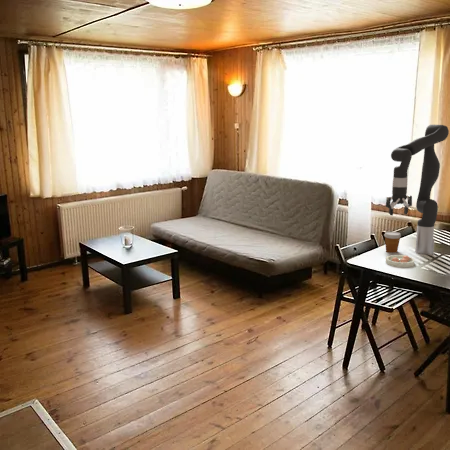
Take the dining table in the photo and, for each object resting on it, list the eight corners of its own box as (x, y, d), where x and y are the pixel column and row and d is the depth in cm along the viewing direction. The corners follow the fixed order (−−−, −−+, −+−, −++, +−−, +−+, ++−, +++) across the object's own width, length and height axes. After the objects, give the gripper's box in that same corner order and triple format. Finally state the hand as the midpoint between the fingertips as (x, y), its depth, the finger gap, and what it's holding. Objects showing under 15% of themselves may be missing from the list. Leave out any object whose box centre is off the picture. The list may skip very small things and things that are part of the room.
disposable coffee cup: (381, 253, 282) (383, 234, 279) (384, 249, 290) (385, 230, 287) (398, 255, 277) (399, 236, 275) (400, 251, 286) (402, 232, 283)
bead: (389, 261, 261) (392, 255, 259) (394, 261, 262) (397, 256, 260) (393, 265, 258) (396, 259, 256) (398, 265, 259) (401, 260, 258)
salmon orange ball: (407, 260, 264) (408, 254, 263) (410, 262, 261) (410, 256, 260) (401, 260, 264) (401, 254, 263) (403, 262, 261) (404, 256, 260)
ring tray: (408, 260, 268) (408, 254, 268) (418, 268, 254) (418, 262, 253) (382, 260, 269) (382, 255, 268) (390, 268, 254) (391, 263, 254)
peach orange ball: (408, 265, 256) (409, 259, 255) (402, 266, 255) (403, 259, 254) (404, 263, 259) (405, 257, 259) (398, 263, 259) (399, 257, 258)
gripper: (408, 183, 261) (406, 212, 265) (384, 185, 259) (383, 214, 262) (415, 185, 254) (414, 215, 257) (391, 187, 251) (389, 216, 255)
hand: (398, 214), depth 260 cm, fingers open, 8 cm apart
